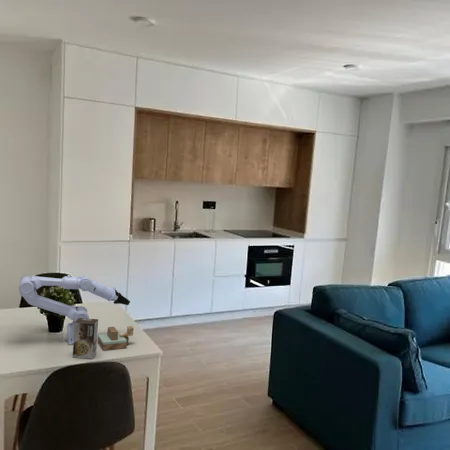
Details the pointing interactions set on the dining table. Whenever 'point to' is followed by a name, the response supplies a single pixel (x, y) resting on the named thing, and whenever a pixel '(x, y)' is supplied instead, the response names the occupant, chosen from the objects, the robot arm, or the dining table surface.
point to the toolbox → (113, 345)
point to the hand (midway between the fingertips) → (127, 301)
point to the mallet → (129, 332)
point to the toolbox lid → (111, 337)
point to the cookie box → (85, 338)
